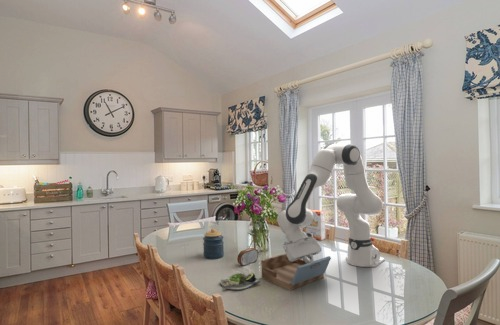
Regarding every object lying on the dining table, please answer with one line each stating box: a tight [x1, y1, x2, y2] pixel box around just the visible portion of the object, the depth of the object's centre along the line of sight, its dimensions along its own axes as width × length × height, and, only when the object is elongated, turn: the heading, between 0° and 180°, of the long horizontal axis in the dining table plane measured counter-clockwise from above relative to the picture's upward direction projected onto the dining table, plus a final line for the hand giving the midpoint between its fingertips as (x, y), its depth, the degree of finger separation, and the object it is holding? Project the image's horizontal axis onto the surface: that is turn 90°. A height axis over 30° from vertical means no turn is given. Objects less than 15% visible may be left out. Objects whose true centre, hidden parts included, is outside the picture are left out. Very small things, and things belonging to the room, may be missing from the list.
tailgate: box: [291, 256, 332, 285], centre depth 148 cm, size 22×2×10 cm, turn 127°
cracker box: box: [305, 208, 326, 241], centre depth 233 cm, size 14×6×21 cm, turn 43°
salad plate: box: [219, 272, 261, 291], centre depth 152 cm, size 19×18×5 cm
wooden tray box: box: [260, 252, 325, 291], centre depth 158 cm, size 24×20×9 cm
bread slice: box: [237, 247, 259, 267], centre depth 182 cm, size 15×3×8 cm, turn 134°
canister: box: [202, 228, 225, 260], centre depth 197 cm, size 13×13×18 cm
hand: (311, 264), depth 148 cm, fingers closed, pressing on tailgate
